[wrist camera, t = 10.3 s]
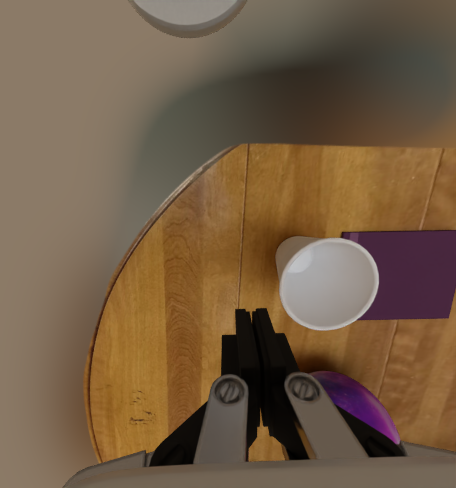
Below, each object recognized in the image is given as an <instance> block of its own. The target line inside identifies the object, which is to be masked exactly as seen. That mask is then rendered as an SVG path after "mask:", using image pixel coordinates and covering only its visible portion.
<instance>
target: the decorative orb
mask: <svg viewBox="0 0 456 488" xmlns="http://www.w3.org/2000/svg"><path fill="white" fill-rule="evenodd" d="M309 375H311V376H313V377H314V378H316V379H317V380H318V381H319V382H320V384H321V385H322V387H323V388H324V390H325V391H326V393H327V394H328V396H329V397H330V399H331V400H332V402H333V403H334V404H336V405H338V406H339V407H341V408H342V409H344V410H346V411H347V412H349V413H350V414H352V415H354V416H355V417H357V418H359V419H360V420H362V421H363V422H365V423H367V424H368V425H370V426H371V427H373V428H375V429H376V430H378V431H379V432H381V433H383V434H384V435H386V436H387V437H388V438H390V439H391V440H392V441H393V442H394V443H395V444H399V443H400V441H401V440H400V437H399V434H398V432H397V429H396V427H395V425H394V423H393V421H392V419H391V417H390V416H389V414H388V412H387V411H386V409H385V408H384V407H383V405H382V404H381V403H380V401H379V400H378V399H377V398H376V397H375V396H374V395H373V394H372V393H371V392H370V391H369V390H368V389H367V388H365V387H364V386H363V385H361V384H360V383H359V382H357V381H355V380H354V379H352V378H350V377H348V376H345V375H343V374H340V373H336V372H331V371H317V372H312V373H309Z"/></svg>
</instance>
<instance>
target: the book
mask: <svg viewBox="0 0 456 488" xmlns="http://www.w3.org/2000/svg"><path fill="white" fill-rule="evenodd" d="M342 239H347V240H351V241H353V242H355V243H357V244H359V245H360V246H362V247H363V248H364V249H366V250H367V251H368V252H369V254H370V255H371V256H372V257H373V259H374V261H375V263H376V265H377V269H378V273H379V285H378V290H377V294H376V296H375V298H374V301H373V302H372V304H371V306H370V307H369V309H368V310H367V311H366V312H365V313H364V314H363V315H362V316H361V317H360V318H358V319H357V320H388V319H437V318H449V314H450V310H451V306H452V301H453V297H454V293H455V289H456V230H436V231H381V232H342Z"/></svg>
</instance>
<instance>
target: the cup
mask: <svg viewBox="0 0 456 488" xmlns="http://www.w3.org/2000/svg"><path fill="white" fill-rule="evenodd" d="M275 260H276V266H277V271H278V277H279V283H280V284H279V293H280V299H281V302H282V305H283V307H284V309H285V310H286V312H287V314H288V315H289V316H290V317H291V318H292V319H293V320H294V321H296V322H297V323H299V324H300V325H302V326H305V327H307V328H310V329H315V330H333V329H338V328H341V327H344V326H347V325H349V324H351V323H352V322H354V321H356V320H357V319H358V318H360V317H361V316H362V315H363V314H364V313H365V312H366V311H367V310H368V309H369V307H370V306H371V304H372V302H373V301H374V298H375V296H376V294H377V290H378V285H379V273H378V269H377V265H376V263H375V261H374V259H373V257H372V256H371V255H370V254H369V252H368V251H367V250H366V249H364V248H363V247H362V246H360V245H359V244H357V243H355V242H353V241H351V240H347V239H342V238H326V239H323V238H313V237H304V236H294V237H290V238H288V239H286V240H284V241H283V242H282V243H281V244H280V246H279V247H278V249H277V251H276V256H275Z"/></svg>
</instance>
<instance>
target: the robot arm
mask: <svg viewBox="0 0 456 488" xmlns="http://www.w3.org/2000/svg"><path fill="white" fill-rule="evenodd" d="M235 318H236V335H222V360H221V377H219V378H217V379H216V380H215V381H214V383H213V384H212V387H211V390H210V394H209V398H208V401H207V402H206V403H205V404H204V405H202V406H201V407H200V408H199V409H198V410H197V411H196V412H195V413H194V414H193V415H191V416H190V417H189V418H188V419H187V420H186V421H185V422H184V423H183V424H182V425H180V426H179V427H178V428H177V429H176V430H175V431H174V432H173V433H172V434H171V435H169V436H168V437H167V438H166V439H165V440H164V441H163V442H162V443H161V444H160V445H159V446H158V447H157V448H156V450H155V451H153V452H150V453H147V454H146V450H144V451H141V452H137V453H134V454H130V455H127V456H124V457H120V458H117V459H114V460H110V461H107V462H104V463H100V464H97V465H94V466H90V467H87V468H85V469H83V470H81V471H79V472H77V473H76V474H75V475H74V476H72V477H71V478H70V479H69V480H68V482H67V483H66V484H65V485H64V486H63V488H456V452H453V451H449V450H444V449H439V448H434V447H429V446H424V445H419V444H414V443H409V442H404V441H400V443H399V444H395V443H394V442H393V441H392V440H391V439H390V438H388V437H387V436H386V435H384V434H383V433H381V432H379V431H378V430H376V429H375V428H373V427H371V426H370V425H368V424H367V423H365V422H363V421H362V420H360V419H359V418H357V417H355V416H354V415H352V414H350V413H349V412H347V411H346V410H344V409H342V408H341V407H339V406H338V405H336V404H334V403H333V402H332V400H331V399H330V397H329V396H328V394H327V393H326V391H325V390H324V388H323V387H322V385H321V384H320V382H319V381H318V380H317V379H316V378H314V377H313V376H311V375H309V374H307V373H303V372H300V370H299V368H298V365H297V363H296V360H295V358H294V355H293V353H292V351H291V348H290V346H289V343H288V341H287V338H286V336H285V334H284V333H275V332H274V329H273V326H272V323H271V320H270V317H269V314H268V311H267V309H266V308H258V309H256V311H252V322H251V317H250V312H246V310H245V309H235ZM260 409H261V415H262V421H263V426H264V427H266V426H268V429H269V435H270V436H273V437H274V438H276V439H277V440H278V441H279V442H280V443H281V444H282V445H281V447H282V452H283V455H284V458H285V461H259V462H248V460H249V447H250V446H251V445H252V443H253V442H254V441H255V439H256V438H257V427H260Z"/></svg>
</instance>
